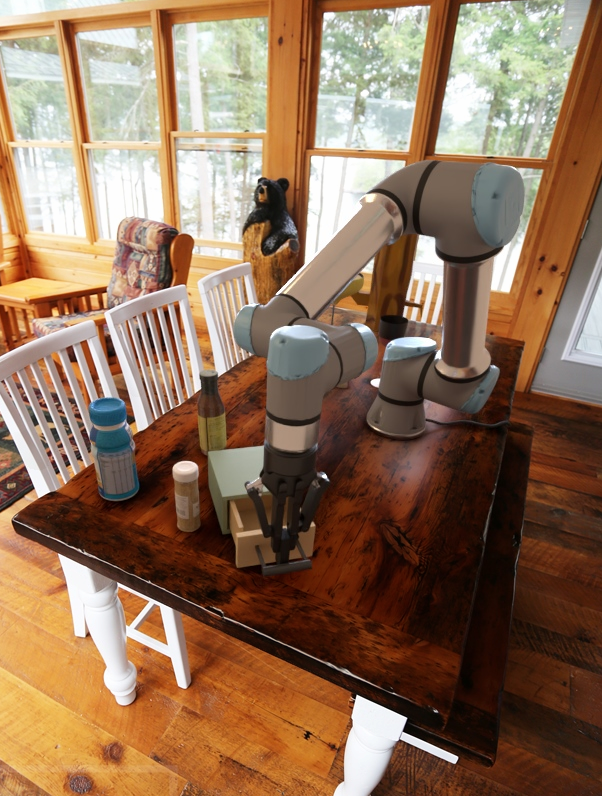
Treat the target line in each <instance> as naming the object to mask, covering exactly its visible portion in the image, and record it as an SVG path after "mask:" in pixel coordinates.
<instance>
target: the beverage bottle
mask: <svg viewBox="0 0 602 796" xmlns="http://www.w3.org/2000/svg"><path fill="white" fill-rule="evenodd" d="M126 406H127V405H126V403H125V401H124V400H123V399H121V398H117V397H112V396H108V397H100V398H97V399H94V400H93V401H91V402H90V403H89V404H88V408H87V409H88V414H89V419H90V420H89V421H90V422H91V424H92V426H91V428H90V431H89V436H88V438H89V442H90V453H91V456H92V458H93V464H94V469H95V475H96V480H97V490H98V493H99V495H100V497H101V498H103V499H104V500H107V501H111V502H122V501H125V500H130V498H133V497H134V496H136V494H137V493H138V491H139V490H140V481H139V478H138V472H137V463H136V462H137V461H136V452H135V451H136V443H135V441H134V440H133V437H134V433H133V429H132V427H131V426H130V424H129V423H128V422H127V418H128V415H127V407H126Z"/></svg>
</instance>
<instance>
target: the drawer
mask: <svg viewBox="0 0 602 796" xmlns="http://www.w3.org/2000/svg"><path fill="white" fill-rule="evenodd" d="M261 499H262V501H263V504H264V508H265V512H266V516H267V520H268V524H270V525H271V512H272V495H264V496H261ZM287 508H288V497H287V498H286V505H284V518H283V528H286V529H287V526H286V521H287ZM301 509H302V506H301V507H300V511H301ZM227 520H228V523H229V526H230V530H231V533H230V534H231V536H232V539H233V543H234V546H235V566H236V568H238V569H241V568H246V567H251V566H258V565H259V566H261V575H262V578H267V577H273V576H279V575H284V574H285V575H286V574H291V573H296V572H303V571H304V572H305V571H309V570H312V569H313V563H312V560H311V559H308V558H309V557H312V556H313V552H314V543H315V536H316V535H315V534H316V529H317V528H316V526H317V525H316V524H315V521H312V523H311V526H310V528H309V530H308V531H307V532H300V533H298V535H299V539H298V540H296V547H295V549H294V550H290V555H289V563H283V564H277V563H276V564H272V565H267V564H270V563H275V562H276V560H275V553H274V552H273V550H272V548H271V537H269V538H264V536H263V533H262V531H261V528H260V525H259V522H258V518H257V514H256V511H255V507H254V503H253V501H252V499H251V498H250V497H249V498H241V499H233V500H227ZM295 559H302V560H296V561H290V560H295Z"/></svg>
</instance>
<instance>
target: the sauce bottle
mask: <svg viewBox="0 0 602 796" xmlns="http://www.w3.org/2000/svg"><path fill="white" fill-rule="evenodd" d="M198 376H199V378H198V379H199V381H200V393H199V395H198V397H197V400H196V408H197V424H198V425H197V426H198V436H199V437H198V438H199V447H200V451H201V454H202V455H205V456H207V457H208V452H209V451H219V450H227V445H228V441H227V423H226V408H225V404H224V402H223V400H222V396H221V393H220V391H219V382H218V380H219V372H218V371H216V370H215V369H204V370H201V371H199V373H198Z"/></svg>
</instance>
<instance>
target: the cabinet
mask: <svg viewBox="0 0 602 796" xmlns="http://www.w3.org/2000/svg"><path fill="white" fill-rule="evenodd" d="M263 457H264V445H259V446H247V447H240V448H238V447H237V448H229V449H226V450H219V451H209V452H208V456H207V473H208V475H207V477H208V489H209V492H210V496H211V499H212V502H213V506H214V508H215V512H216V516H217V519H218V523H219V526H220V530H221V533H222V535H228V534H232V533H231V530H230V526H229V523H228V520H227V500H233V499H241V498H249V496H248V494H247V491H246V488H245V486H244V484H245V482H247V481H251V482H254V481H255V480H257V479H258V478H260V477H259V474H260V472H261V470H262V468H263ZM262 490H263V493H262V496H264V495H272V494H271V493H270V492H269V490H268V489H267V488H266V487H265V486H263V488H262Z"/></svg>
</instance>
